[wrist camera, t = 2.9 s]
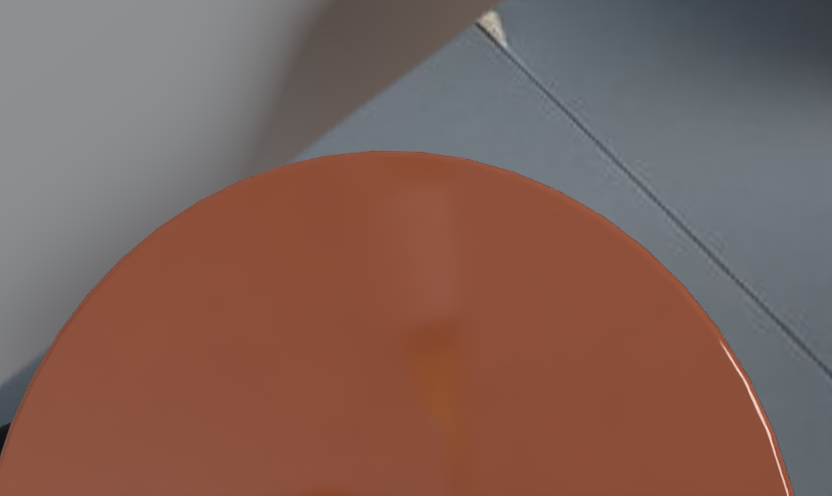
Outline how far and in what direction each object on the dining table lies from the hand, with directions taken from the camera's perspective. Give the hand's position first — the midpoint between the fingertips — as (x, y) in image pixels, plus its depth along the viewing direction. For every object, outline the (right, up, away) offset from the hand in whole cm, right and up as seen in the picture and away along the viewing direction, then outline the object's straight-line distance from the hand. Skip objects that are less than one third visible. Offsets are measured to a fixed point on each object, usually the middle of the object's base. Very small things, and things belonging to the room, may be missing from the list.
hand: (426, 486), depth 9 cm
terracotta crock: (+1, -2, +8) cm, 8 cm away
